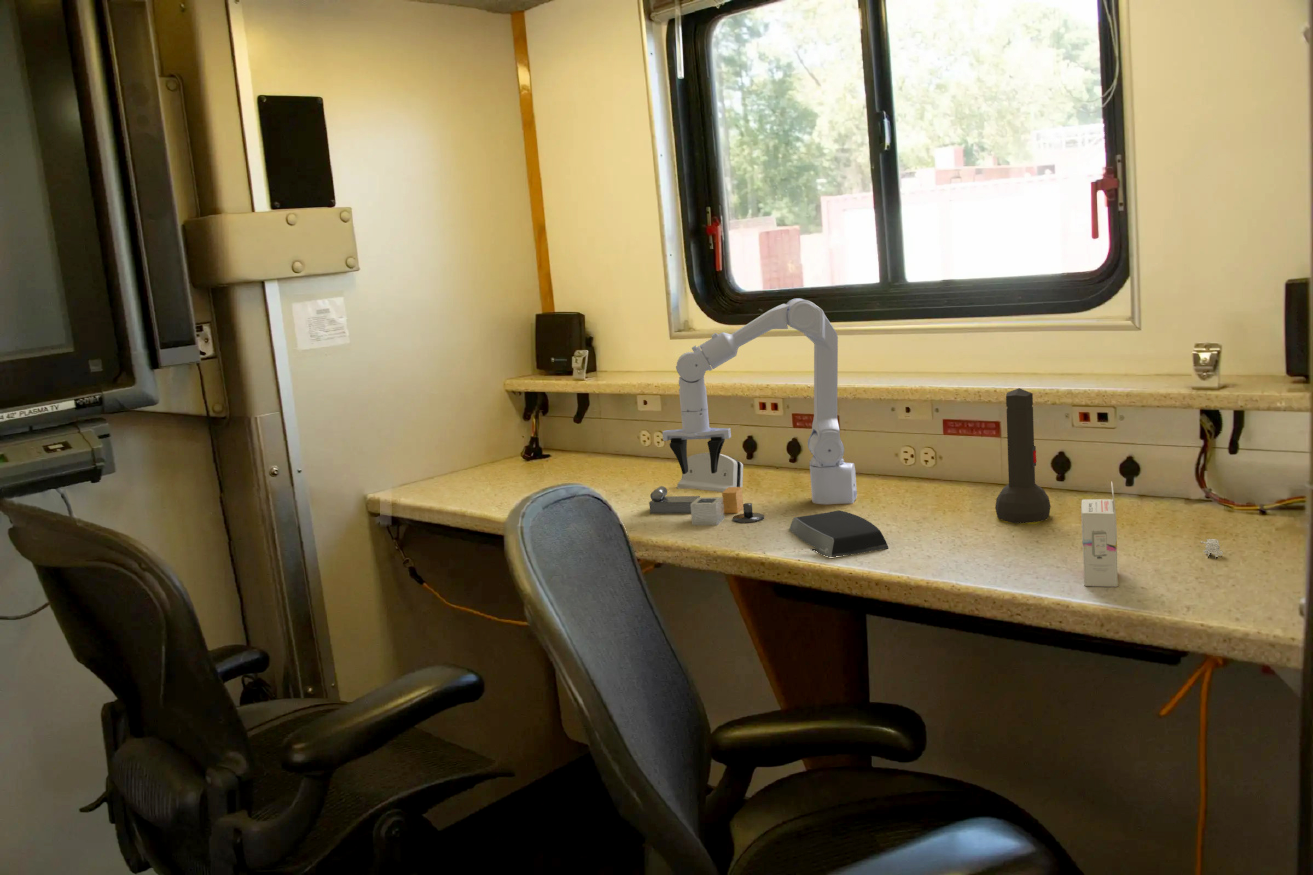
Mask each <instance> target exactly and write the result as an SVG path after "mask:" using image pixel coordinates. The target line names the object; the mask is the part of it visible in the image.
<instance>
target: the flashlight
mask: <svg viewBox="0 0 1313 875" xmlns="http://www.w3.org/2000/svg"><path fill="white" fill-rule="evenodd" d="M1033 395H1034V393H1032V392H1030V391H1028V390H1025V389H1023V388H1019V387H1018V388H1015V389H1012V390H1011V391H1009V392H1006V394H1005V404H1006V405H1005V407H1006V433H1007V434H1006V435H1007V465H1008V469H1007V470H1008V484H1006V485H1005V486H1004V487H1002V489H1001V491H1000V493H999V494H998V496H997V497H996V499H995V500H996V501H995V508H994V509H995V512H996V517H997V518H998V519H999V520H1001V521H1003V522H1006V523H1011V524H1031V523H1037V522H1045V521H1047V520H1048V519H1049V517H1050V512H1051V508H1052V506H1051V502H1050V498H1049V495H1048V494H1047V492H1046V490H1045V489H1044V488H1042V487H1041V486H1039V485H1038V484H1036V474H1035V473H1036V466H1037V463H1038V462H1037V450H1036V448H1037V446H1035V435H1034V434H1035V432H1034V431H1035V430H1034V429H1035V428H1034V407H1033V405H1034V399H1033V398H1034V397H1033ZM1046 519H1047V520H1046Z"/></svg>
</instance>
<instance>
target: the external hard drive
mask: <svg viewBox="0 0 1313 875" xmlns="http://www.w3.org/2000/svg"><path fill="white" fill-rule="evenodd" d="M788 529H789V531H790V532H791V533H792V534H794V535H795V536H796V537H797V538H798V539H799V540H801V541H802V542H804V543H806V544H808V546H809V545H810V546H811V547H813V548H811V549H812V550H811V551H813V550H815V551H817V552H818V553H820V554H822V555H821V556H823V555H825V556H828V557H836V556H842V557H844V556H843V555H848V556H852V555H851V554H854V555H858V553H859V554H863V553H864V552H865V553H869V551H871V552H876V551H875V550H877V551H883V550H886V549H889V545H888V542H887V541H886V538H885V537H884V534H883V533H882V531H881V530H880V529H879V528H878V527H877V526H876V525H874V524H873V523H872V522H870V521H869V520H867V519H865V518H864V517H862V516H859V515H856V514H853V513H851V512H848V511H844V510H833V511H828V512H821V513H816V514H809V515H801V516H795V517H793V519H792V521H791V523H790V525H789V528H788ZM818 553H817V554H818ZM820 554H819V555H820ZM825 556H824V557H825Z"/></svg>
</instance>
